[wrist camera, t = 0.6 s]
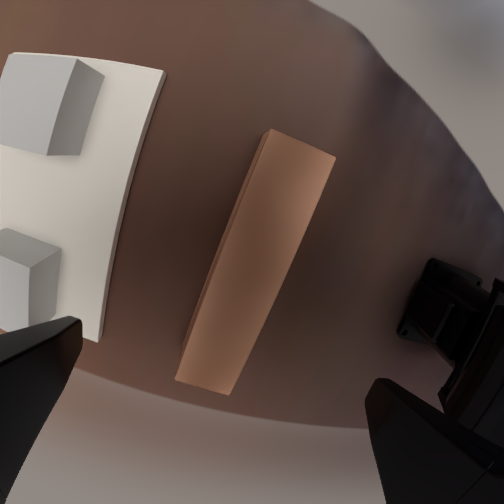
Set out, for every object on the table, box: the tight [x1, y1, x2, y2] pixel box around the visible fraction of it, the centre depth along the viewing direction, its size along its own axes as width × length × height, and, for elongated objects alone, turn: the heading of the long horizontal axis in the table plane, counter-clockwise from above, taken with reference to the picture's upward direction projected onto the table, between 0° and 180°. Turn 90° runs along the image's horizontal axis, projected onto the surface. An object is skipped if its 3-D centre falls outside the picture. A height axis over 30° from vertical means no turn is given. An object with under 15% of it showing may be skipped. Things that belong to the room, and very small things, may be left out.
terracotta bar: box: [175, 129, 336, 395], centre depth 18 cm, size 4×15×4 cm, turn 158°
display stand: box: [0, 52, 166, 343], centre depth 15 cm, size 12×18×5 cm, turn 162°
